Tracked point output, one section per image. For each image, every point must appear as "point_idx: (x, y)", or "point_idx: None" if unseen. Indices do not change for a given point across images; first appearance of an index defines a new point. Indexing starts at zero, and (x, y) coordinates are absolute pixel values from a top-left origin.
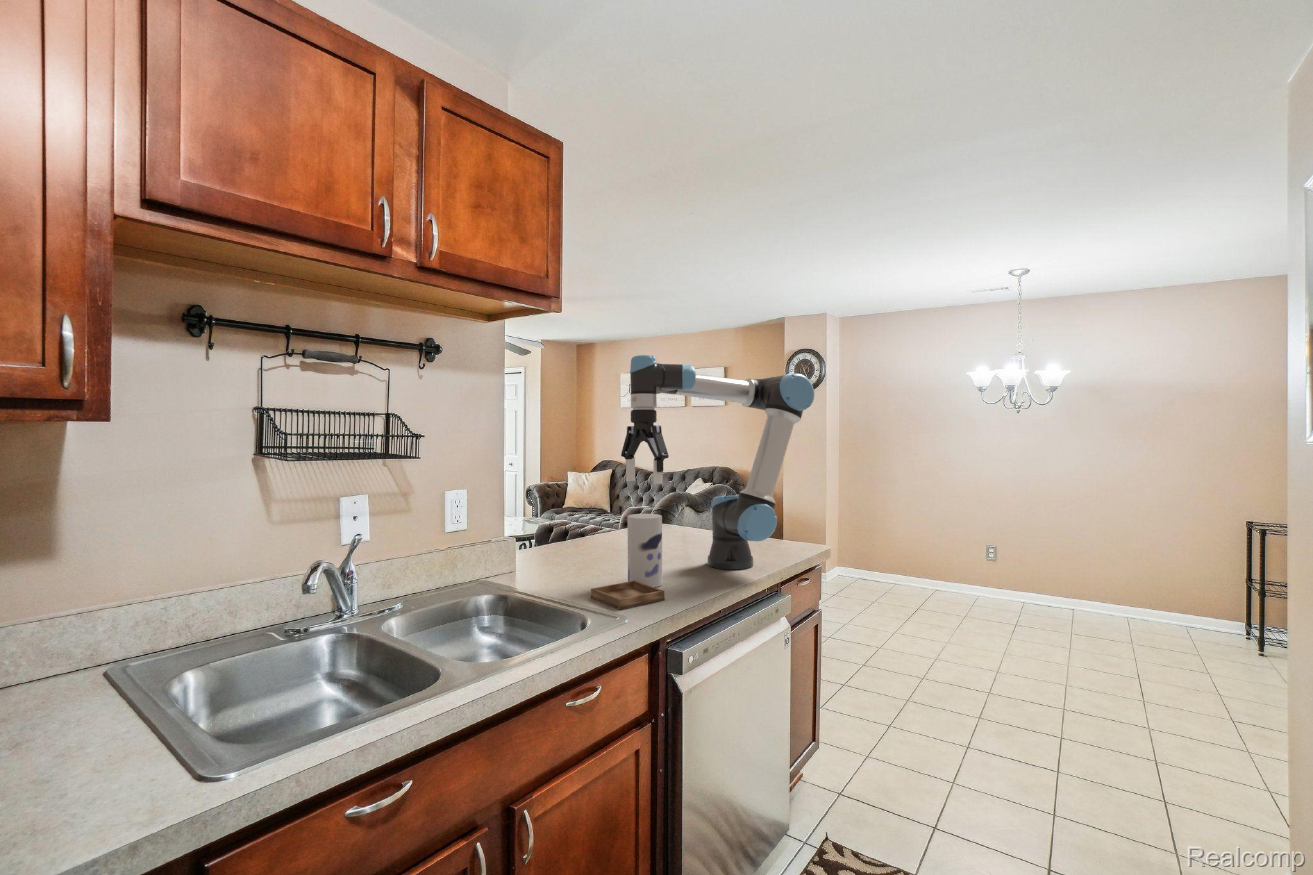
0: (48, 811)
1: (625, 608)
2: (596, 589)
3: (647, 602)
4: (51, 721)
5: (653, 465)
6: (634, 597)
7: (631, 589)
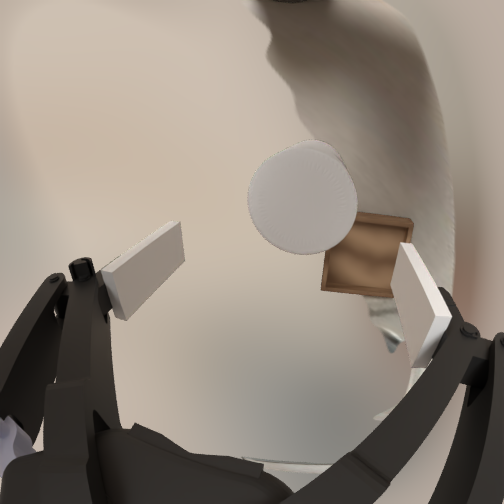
0: None
1: None
2: (330, 287)
3: None
4: (300, 470)
5: (408, 346)
6: None
7: None
